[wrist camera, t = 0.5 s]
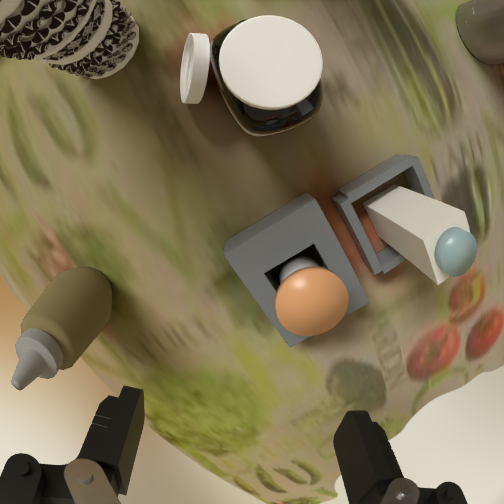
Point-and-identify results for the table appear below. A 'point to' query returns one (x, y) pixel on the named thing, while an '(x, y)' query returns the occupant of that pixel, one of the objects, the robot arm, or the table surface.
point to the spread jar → (258, 73)
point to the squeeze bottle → (62, 324)
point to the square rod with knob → (423, 231)
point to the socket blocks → (317, 239)
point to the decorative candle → (69, 34)
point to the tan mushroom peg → (309, 297)
